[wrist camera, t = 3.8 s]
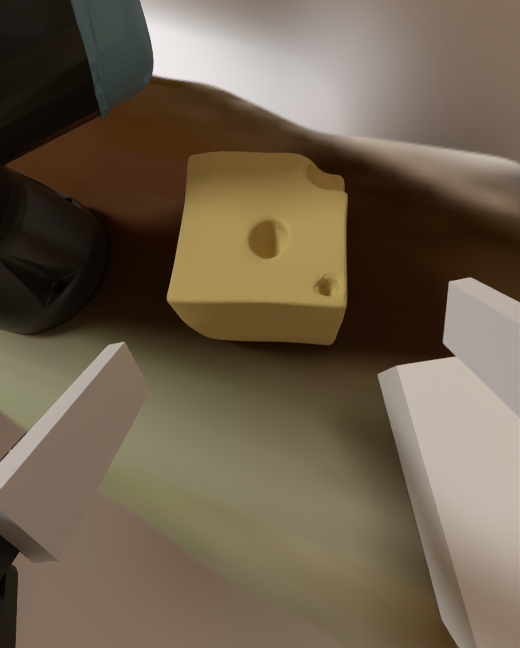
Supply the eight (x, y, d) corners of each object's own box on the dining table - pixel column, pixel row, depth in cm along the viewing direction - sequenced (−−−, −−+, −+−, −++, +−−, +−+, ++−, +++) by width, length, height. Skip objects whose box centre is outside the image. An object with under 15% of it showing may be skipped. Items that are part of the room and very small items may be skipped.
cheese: (339, 236, 25) (356, 136, 16) (335, 354, 23) (354, 318, 13) (228, 237, 27) (185, 149, 18) (212, 346, 25) (151, 309, 15)
